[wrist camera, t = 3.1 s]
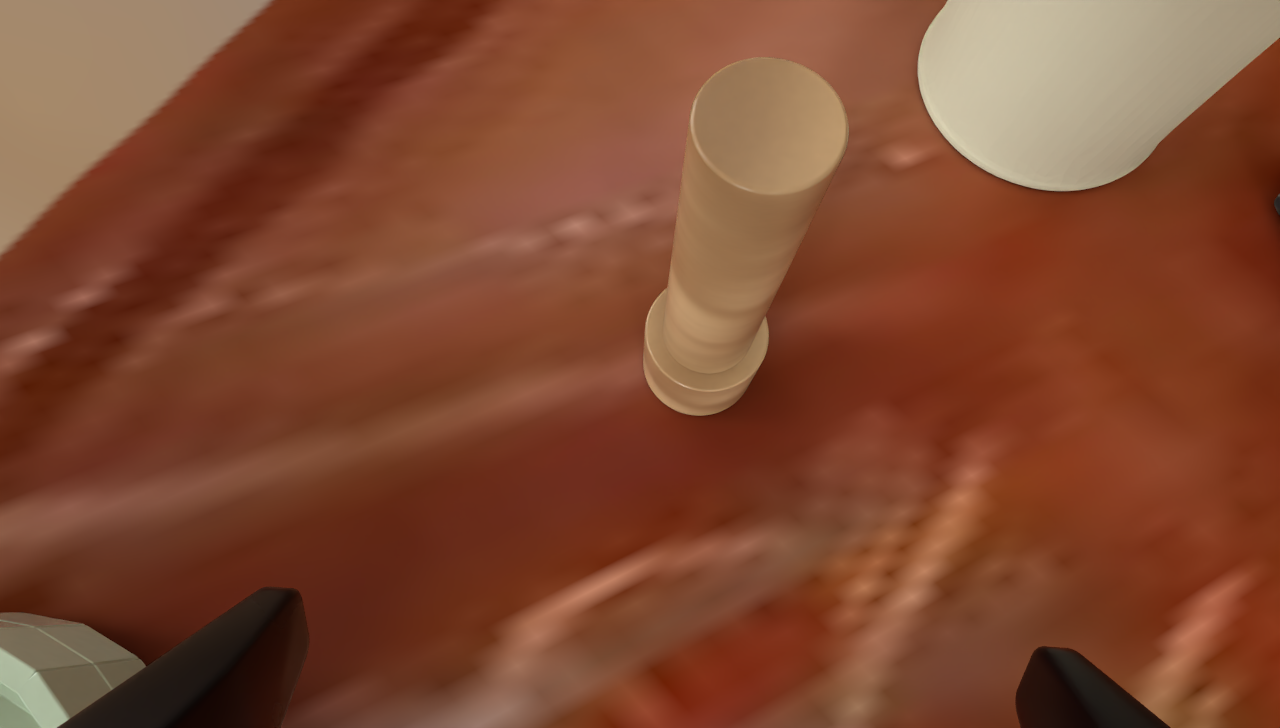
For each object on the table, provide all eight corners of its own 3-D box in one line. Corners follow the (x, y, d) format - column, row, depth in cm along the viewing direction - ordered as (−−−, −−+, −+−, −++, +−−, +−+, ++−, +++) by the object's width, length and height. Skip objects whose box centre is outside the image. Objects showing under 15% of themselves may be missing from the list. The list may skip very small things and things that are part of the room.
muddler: (759, 320, 25) (888, 47, 13) (745, 425, 24) (872, 239, 12) (652, 303, 25) (676, 16, 13) (634, 406, 24) (641, 202, 12)
